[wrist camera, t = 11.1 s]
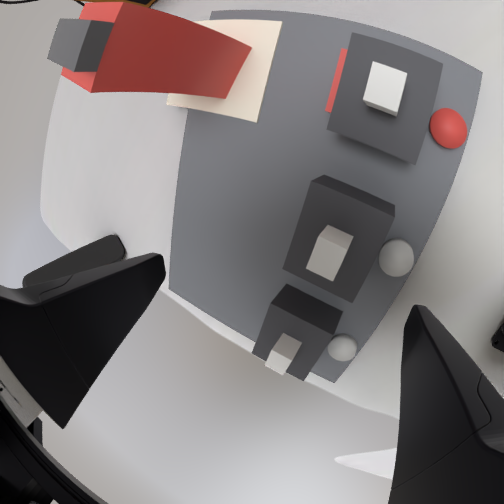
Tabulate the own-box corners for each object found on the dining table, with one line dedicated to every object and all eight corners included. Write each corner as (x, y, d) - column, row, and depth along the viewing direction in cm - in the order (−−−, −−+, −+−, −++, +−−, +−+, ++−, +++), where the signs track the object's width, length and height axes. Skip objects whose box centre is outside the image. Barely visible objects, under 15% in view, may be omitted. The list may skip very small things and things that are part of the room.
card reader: (110, 278, 39) (34, 323, 27) (98, 256, 39) (21, 297, 27) (130, 254, 34) (34, 307, 22) (115, 229, 33) (19, 275, 22)
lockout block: (252, 47, 15) (101, -3, 5) (226, 99, 18) (68, 94, 8) (207, 32, 16) (66, 1, 6) (185, 79, 19) (43, 75, 9)
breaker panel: (476, 76, 10) (509, 51, 5) (338, 372, 24) (316, 423, 19) (200, 17, 17) (145, -1, 12) (162, 272, 31) (120, 298, 26)
